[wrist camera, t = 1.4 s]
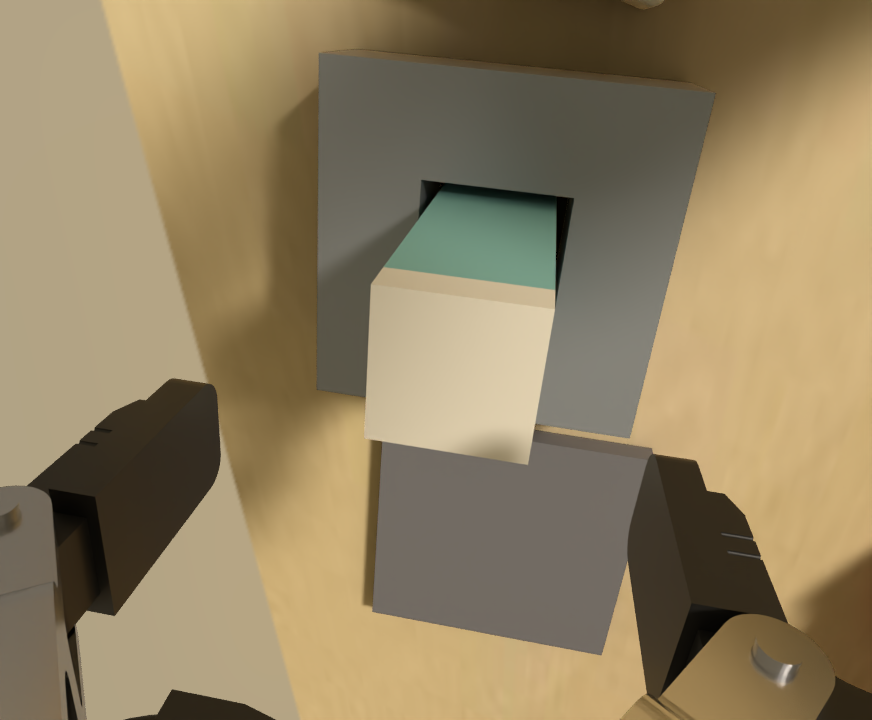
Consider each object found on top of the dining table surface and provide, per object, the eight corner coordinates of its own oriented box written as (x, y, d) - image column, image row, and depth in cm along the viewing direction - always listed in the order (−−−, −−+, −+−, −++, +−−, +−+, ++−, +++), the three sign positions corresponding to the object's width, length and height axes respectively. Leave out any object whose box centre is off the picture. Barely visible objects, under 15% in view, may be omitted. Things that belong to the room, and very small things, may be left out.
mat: (651, 448, 30) (654, 461, 30) (600, 639, 36) (601, 655, 35) (388, 407, 32) (383, 417, 31) (376, 597, 37) (372, 611, 36)
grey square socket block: (689, 82, 24) (716, 92, 20) (620, 382, 29) (629, 438, 25) (357, 49, 25) (318, 52, 21) (348, 342, 31) (316, 389, 27)
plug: (556, 183, 26) (555, 309, 14) (540, 282, 28) (528, 465, 16) (453, 171, 27) (370, 284, 15) (444, 268, 28) (364, 438, 17)
